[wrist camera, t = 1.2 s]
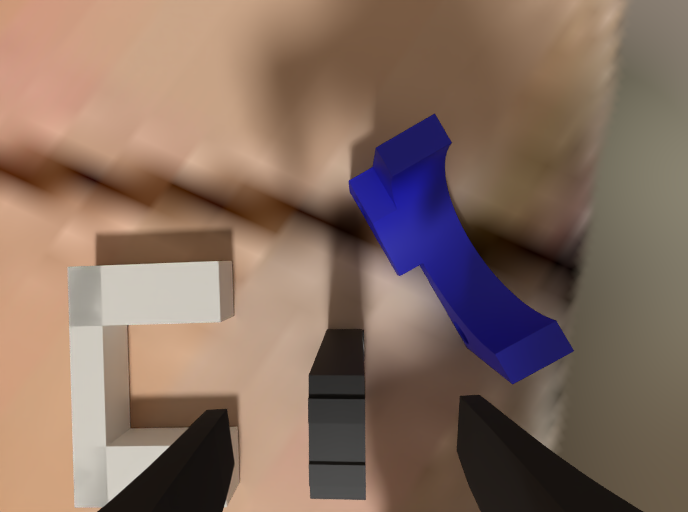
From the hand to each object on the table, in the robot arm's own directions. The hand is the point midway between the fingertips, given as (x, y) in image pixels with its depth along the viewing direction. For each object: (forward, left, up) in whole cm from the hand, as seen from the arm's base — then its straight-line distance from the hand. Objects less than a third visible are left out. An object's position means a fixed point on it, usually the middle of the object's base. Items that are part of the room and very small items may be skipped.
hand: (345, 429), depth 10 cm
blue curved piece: (+5, -5, -11) cm, 13 cm away
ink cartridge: (-2, 0, -10) cm, 11 cm away
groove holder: (-2, +12, -10) cm, 16 cm away
